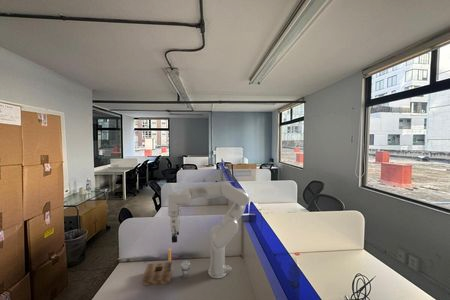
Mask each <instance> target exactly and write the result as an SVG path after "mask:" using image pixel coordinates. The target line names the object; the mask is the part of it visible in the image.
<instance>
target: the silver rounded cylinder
mask: <svg viewBox="0 0 450 300" xmlns="http://www.w3.org/2000/svg"><path fill="white" fill-rule="evenodd" d="M190 269H191V261H190V260H188V259H186V260H182V261H181V262H180V270H181V271H182V278H184V279H188V277H189V271H190Z"/></svg>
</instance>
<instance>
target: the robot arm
mask: <svg viewBox="0 0 450 300" xmlns="http://www.w3.org/2000/svg"><path fill="white" fill-rule="evenodd" d="M220 196H223V198H226V199H227V200H228V201H231V202H232V203H233V204H232V206H231V208H229V210H227V211H226V213H225V214H224V215H223V217H222V218H221V225H219V224H217V225H214V226H213V227H211V229H210V233H209V237H210V266H209V268H208V270H207V274H208V276H209V277H211V278H212V279H223V278H224V277H225V276H226V275H228V271H232V270H233V268H232V266H230V265H229V264H227V265H226V252H225V251H226V246H227V244H229V243H230V241H231V240H232V239H233V237H234V236H235V235H236V234H237V232H238V231H239V222H238V220H239V219H240V218H241V217H242V215H243V214H244V212H245V211H246V206H247V205H249V202H250V196H249V194H248V193H247V192H246V191H245V190H244V189H242V188H240V187H239V188H238V187H237V188H236V187H235V186H233V184H231V182H229V181H226V180H225V181H224V180H223V181H220V182H216V183H212V184H208V185H203V186H202V185H201V186H199V185H198V186H193V187H189V188H187V189H184V190H182V192H181V193H179V192H176V191H175V192H170V193H168V194H167V212H168V213H167V214H168V217H169V219H170V221H169V222H170V232H171V243H178V235H180V228H181V219H180V216H181V206H189V205H191V203H192V202H193V199H197V198H198V199H199V198H204V199H208V200H210V199H213V198H217V197H220Z"/></svg>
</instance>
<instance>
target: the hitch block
mask: <svg viewBox="0 0 450 300" xmlns="http://www.w3.org/2000/svg"><path fill="white" fill-rule="evenodd" d="M173 271H174V270H173V262H172V257H171V263H168V262H163V263H162V262H161V263H159V262H158V263H148V264H147V265H146V268H145V270H144V273H143V275H142V285H143V287H144V286H157V285H170V284H171V280H172V275H173Z"/></svg>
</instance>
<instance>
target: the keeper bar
mask: <svg viewBox="0 0 450 300" xmlns="http://www.w3.org/2000/svg"><path fill="white" fill-rule="evenodd" d="M167 253H168V254H167V256H168V257H167V259H168V260H167V261H168V262H167V263H171V258H172V247H168V251H167Z"/></svg>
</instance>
